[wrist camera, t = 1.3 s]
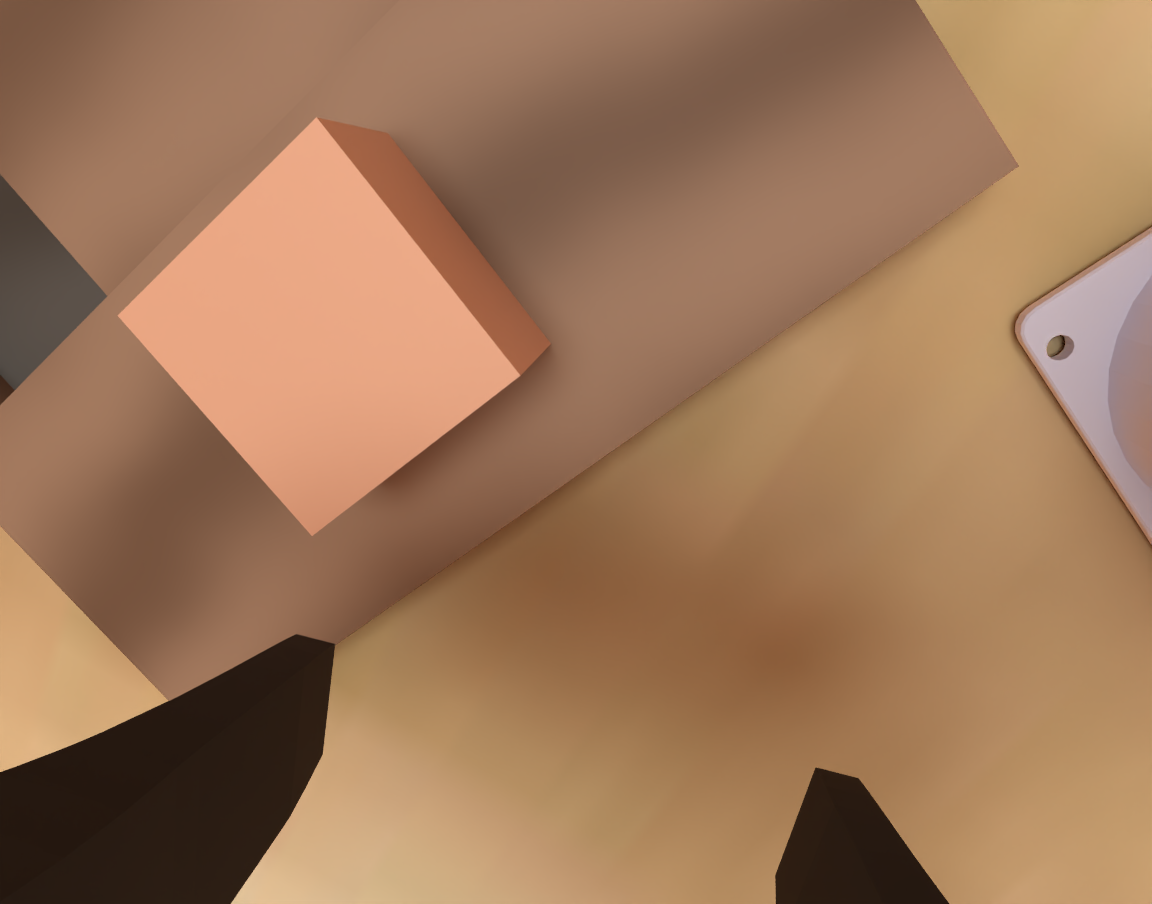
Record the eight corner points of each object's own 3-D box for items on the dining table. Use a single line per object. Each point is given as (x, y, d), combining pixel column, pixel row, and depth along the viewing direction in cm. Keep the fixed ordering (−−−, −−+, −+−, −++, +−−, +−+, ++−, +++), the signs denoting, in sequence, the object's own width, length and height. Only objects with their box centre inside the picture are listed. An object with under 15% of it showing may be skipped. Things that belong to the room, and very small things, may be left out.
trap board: (969, 171, 16) (1048, 162, 12) (255, 680, 22) (174, 769, 19) (139, -1134, 12) (-88, -1681, 8) (-437, -61, 18) (-701, -122, 15)
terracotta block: (550, 343, 16) (520, 375, 13) (374, 480, 17) (312, 536, 14) (388, 132, 15) (316, 117, 12) (217, 295, 16) (117, 315, 13)
